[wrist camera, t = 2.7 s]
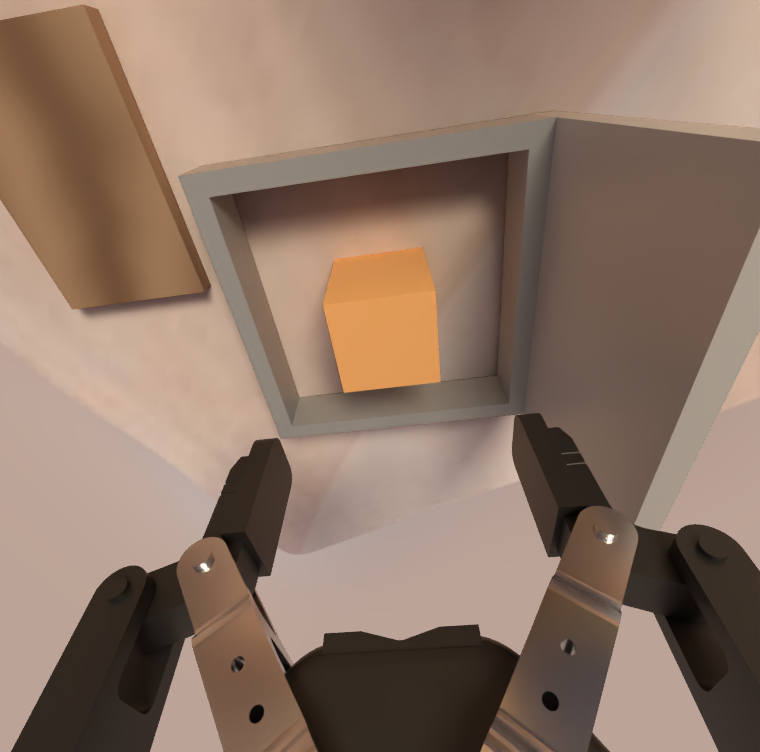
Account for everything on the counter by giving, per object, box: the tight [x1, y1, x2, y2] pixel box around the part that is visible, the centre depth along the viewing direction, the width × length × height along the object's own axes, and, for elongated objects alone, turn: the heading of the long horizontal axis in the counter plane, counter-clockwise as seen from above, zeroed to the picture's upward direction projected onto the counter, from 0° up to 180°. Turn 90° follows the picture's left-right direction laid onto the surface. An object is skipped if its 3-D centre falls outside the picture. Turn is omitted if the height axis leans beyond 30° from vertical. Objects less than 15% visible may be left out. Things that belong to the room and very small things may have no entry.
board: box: [0, 5, 210, 309], centre depth 19 cm, size 8×12×1 cm, turn 8°
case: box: [178, 111, 760, 531], centre depth 18 cm, size 17×16×14 cm
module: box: [323, 247, 441, 393], centre depth 21 cm, size 5×5×6 cm
